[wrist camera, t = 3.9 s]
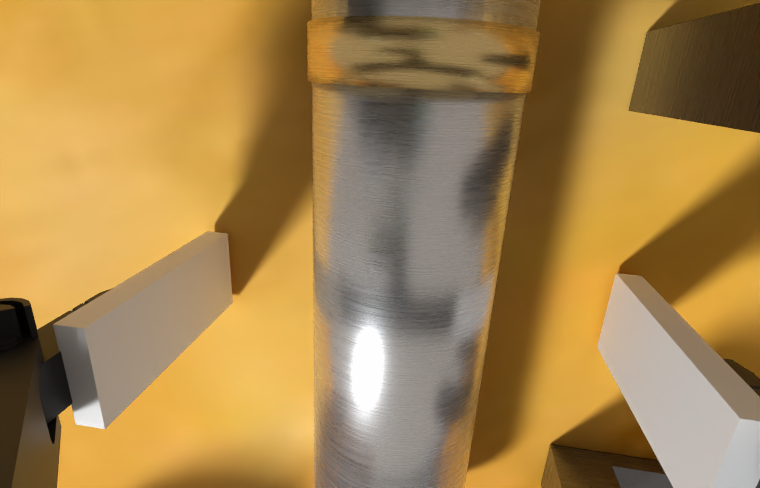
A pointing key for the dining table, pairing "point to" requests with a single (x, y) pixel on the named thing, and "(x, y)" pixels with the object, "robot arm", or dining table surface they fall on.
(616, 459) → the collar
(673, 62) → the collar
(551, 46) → the dining table surface
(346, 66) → the tube
